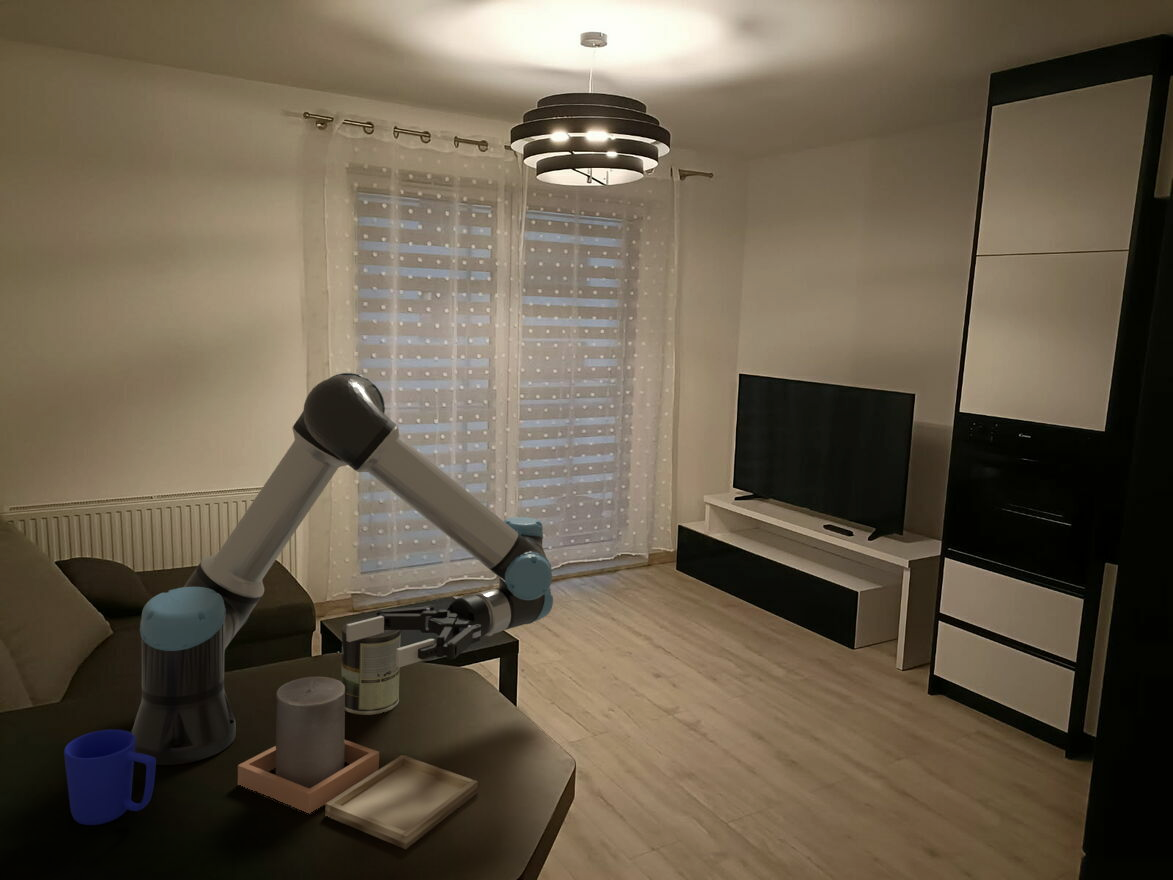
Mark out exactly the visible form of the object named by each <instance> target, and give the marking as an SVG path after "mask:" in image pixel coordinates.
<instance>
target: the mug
mask: <svg viewBox="0 0 1173 880" xmlns="http://www.w3.org/2000/svg"><path fill="white" fill-rule="evenodd" d="M130 732H131V731H128V730H124V729H103V730H102V729H101V730H97V731H96V730H95V731H92V732H89V733H84V734H82V735H80V736H78V737H76V738H74V739H73V740H71V741H69V743H67V744H66V746H65V747H64V750H63V757H64V765H65V772H66V780H67V790H68V799H69V807H70V812H71V816H72V817H73V819H74V821H75V822H77V823H78V824H81V825H85V826H98V825H99V826H100V825H103V824H107V823H110V822H112V821H115V820H116V819H118V818H120V817H122V816H123V815H124V814H125V812H127V810H128V811H132V812H139V811H141V810H142V809H143V810H144V808H145V807H147V805H148V804H149V803H150V801H151V799H152V795H153V791H154V787H155V786H154V785H155V779H156V767H157V765H156V758H155V757H153V756H149V755H146V754H141V753H135V744H136V738H135V736H134V735H133V734H132V733H130ZM135 762H136V763H141V764H144V765H145V767H146V771H145V782H144V785H145V786H144V792H143V797H142V800H141V802H140V803H138V802H134V801H133V800H132V794H133V779H134V769H135V767H134V766H135Z"/></svg>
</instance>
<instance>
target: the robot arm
mask: <svg viewBox="0 0 1173 880" xmlns="http://www.w3.org/2000/svg"><path fill="white" fill-rule="evenodd" d="M385 405H386V404H385V399H384V396H383V394H382V393H381V391H380V390H379V387H377V386H376V384H375V383H374V382H373V381H371V379H369V378H366V377H365V376H363V375H360V374H359V373H358V374H357V373H353V372H341V373H339V374H335V375H333V376H331V377H329V378H327V379H325V380H324V379H323V380H322V381H320V382H319V383H318V384H317V385H314V387H313V388H312V389H311V390H310V392H309V393H308V395H307V397H306V398H305V402H304V404H303V411H302V412H301V414H300V415H299V416H298V418H297V420H296V421H295V422H294V424H293V426H292V427H291V428H292V432H293V433H292V434H293V437H294V441H293V442H292V444H291V445H290V447H289V448H288V449H287V451H286V453H285V454H284V455H283V457H282V458H281V460H280V461H279V463H278V464H277V466H276V467H275V469H274V470H273V472H272V473H271V475H270V476H269V477H268V479H267V480H266V482H265V483H264V485H263V486H262V487H261V489H260V491H259V493H257V495H256V497H255V498H254V499H253V500H252V502H251V504H250V505H249V507H248V508H247V510H246V511H245V513H244V514H243V515H242V517H241V519H239V521H238V523H237V525H236V526H235V528H234V529H233V530H232V532H231V533H230V534H229V536H228V538H227V539H226V541H225V542H224V543H223V544H222V547H221V548H220V550H219V551H218V552H217V554H214V555H209V556H205V557H203V558H202V560H201V561H200V562H199V563H198V565H197V567H196V568H195V570H194V571H193V573H192V574H191V575H190V577H189V578H188V580H187V581H186V583H185V584H184V585H183V587H178V588H173V589H169V590H168V591H167V592H160V593H159V594H157V595H155V596H153V597H151V598H150V599H149V600H148V601H147V602H146V604H145V605H144V606H143V608H142V612H141V618H140V619H141V620H140V623H139V633H140V655H141V656H140V658H141V659H140V661H141V664H140V665H141V668H140V669H141V700H140V701H141V702H140V705H139V707H138V710H137V714H136V717H135V719H134V724H133V727H132V728H131V730H130V731H129V732H130V733H132V734H133V735H134V736H135V738H136V744H135V753H141V754H146V755H149V756H153V757H155V758H156V766H172V765H173V766H175V765H184V764H189V763H193V762H198V761H201V760H205V759H208V758H211V757H213V756H216V755H217V754H220V753H221V752H222V751H224V750H226V749H227V748H229V746H231V744H233V742H234V741H235V739H236V734H237V733H236V732H237V731H236V730H237V728H236V725H237V724H236V719H235V715H234V713H233V709H232V708H231V704H230V702H229V700H228V697H227V694H226V692H225V651H226V649H227V647H228V646H229V644H230V643H231V642H232V640H233V639H234V637H235V636H236V634H237V633H238V632H239V631H240V630H241V629H242V628H243V626H244V625H245V624H246V623H247V621H248V619H249V617H250V614H251V613H252V612H253V610H254V608H255V607H256V605H257V604H258V602H259V601H260V599H261V598H262V597H263V596H264V593H265V586H264V583H263V579H264V578H265V576H266V575H267V574H268V572H269V570H270V569H271V568H272V566H273V564H274V563H275V561H276V560H277V558H278V557H279V556H280V554H281V552H282V551H283V550H284V548H285V547H286V545H287V544H288V543H289V541H290V539H292V537H293V536H294V533H295V532H296V531H297V530H298V528H299V526H300V525H301V523H302V522H303V521H304V519H305V517H306V516H307V515H308V513H309V512H310V510H311V509H312V507H314V504H315V503H316V502H317V500H318V499H319V497H320V496H321V494H322V493H323V491H324V490H325V488H326V487H327V485H328V484H329V483H330V481H331V480H332V478H333V477H334V475H335V474H336V472H337V471H338V469H339V468H341V467H345V466H349V467H351V468H352V469H353V470H354V471H355V472H357V473H364V472H365V473H368V474H370V475H371V476H372V477H373V478H374V479H376V480H377V481H378V482H380V484H382V485H384V486H385V487H386V488H387V489H388V490H390V491H391V492H392V493H394V494H395V495H396V496H397V497H398V498H400V499H401V500H402V501H403V502H404V503H406V504H408V506H410V507H411V508H412V509H413V510H415V511H416V512H417V513H419V514H420V515H421V516H422V517H424V518H425V519H426V520H427V521H429V522H430V523H431V524H432V525H434V526H435V527H437V529H439V530H440V532H442V533H444V534H445V535H446V536H447V537H449V538H450V539H451V540H453V542H454V543H456V544H457V545H458V546H460V547H461V548H463V550H465V551H466V552H468V553H469V554H470V555H472V557H474V558H475V559H476V560H477V561H479V562H480V563H481V564H483V565H484V566H485V567H486V568H487V569H489V570H490V571H491V572H492V573H493V574H494V575H496V576H497V577H498V578H499V579H498V581H499V582H498V583H499V586H498V587H495V588H491V589H488V590H483V591H479V592H476V593H472V594H469V595H465V596H462V597H461V596H460V597H458V598H457V597H456V598H455V599H454V600H452V602H451V603H450V605H449V606H448V607H447V609H444V608H443V609H437V610H435V605H433V604H429V605H423V606H417V607H404V608H402V607H401V608H391V609H379V610H376V617H375V616H374V617H375V618H371V619H367V620H363V621H359V622H355V623H351V624H347V637H346V641H348V642H351V641H355V640H359V639H362V638H366V637H370V636H373V635H377V634H383V633H384V630H401V631H420V632H421V633H424V634H436V639H435V638H428V639H426V640H422V641H419V642H415V643H412V644H409V645H405V646H400V648H397V649H396V666H397V667H400V668H402V667H404V666H405V667H406V666H409V665H412V664H415V663H418V662H422V661H424V660H428V659H430V658H431V659H432V658H434V657H437V658H443V657H444V656H446V659H447V660H451V661H452V660H455V659H456V658H457V657H458V656H459V655H460V654H462V653H463V652H464V651H466V650H467V649H468V648H469V647H470V646H472V645H473V644H475V643H477V642H480V641H481V639H482V638H484V637H487V636H488V637H492V636H493V635H494V634H497V633H501V632H504V631H506V630H509V629H513V628H517V627H521V626H524V625H530V624H532V623H534V622H536V621H539V620H542V619H544V618H546V617H547V616H548V615H549V614H550V613H551V611H552V610H553V609H552V608H553V605H554V596H553V595H552V593H551V591H552V590H551V588H550V587H551V585H552V581H553V574H552V573H553V572H552V571H553V570H552V568H553V567H552V564H551V563H550V561H549V559H548V557H547V556H546V553H545V549H544V548H543V538H544V534H543V532H544V531H543V523H542V522H541V520H540V519H537V518H533V517H526V516H525V517H524V516H517V517H514V516H513V517H509V518H506V519H504V520H503V519H501V518H500V517H499V516H498V515H496V514H495V513H494V512H493V511H492V510H491V509H489V507H487V506H486V505H485V504H483V503H482V502H481V501H480V500H478V499H477V498H476V497H475V496H474V495H473V494H471V493H470V492H468V490H466V489H465V488H464V487H463V486H461V485H460V484H459V483H458V482H456V481H455V480H454V478H452V477H451V476H449V474H447V473H446V472H444V470H443V469H441V468H439V467H438V466H437V465H436V464H435V463H434V462H433V461H431V460H430V459H429V458H427V457H426V456H425V455H424V454H422V452H420V451H419V450H418V449H417V448H415V447H414V446H413V445H412V444H411V443H409V442H408V441H407V440H406V439H405V438H403V436H401V435H400V432H399V425H398V424H396V423H395V422H394V421H393V420H392V419H390V418H389V416H387V414H386V413H385V411H386V406H385ZM426 624H427V625H426ZM435 641H436V642H435Z"/></svg>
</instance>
